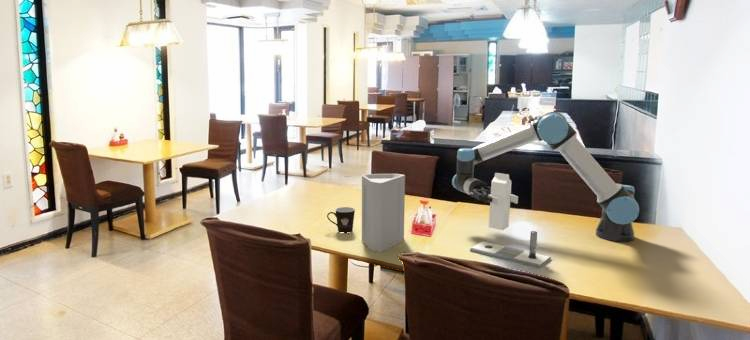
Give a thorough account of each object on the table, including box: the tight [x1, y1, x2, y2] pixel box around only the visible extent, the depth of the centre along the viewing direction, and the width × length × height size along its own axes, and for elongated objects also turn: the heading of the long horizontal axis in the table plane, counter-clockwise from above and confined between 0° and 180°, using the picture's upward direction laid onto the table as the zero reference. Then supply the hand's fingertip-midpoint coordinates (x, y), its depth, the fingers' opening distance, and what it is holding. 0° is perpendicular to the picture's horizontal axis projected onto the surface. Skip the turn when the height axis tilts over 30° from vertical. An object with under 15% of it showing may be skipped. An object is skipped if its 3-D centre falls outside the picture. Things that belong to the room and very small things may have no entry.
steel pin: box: [528, 230, 538, 258], centre depth 187 cm, size 2×2×10 cm
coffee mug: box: [326, 206, 356, 234], centre depth 222 cm, size 12×9×10 cm
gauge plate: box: [469, 240, 552, 269], centre depth 194 cm, size 28×12×1 cm, turn 51°
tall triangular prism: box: [361, 173, 406, 253], centre depth 205 cm, size 19×15×28 cm
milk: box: [488, 172, 512, 231], centre depth 197 cm, size 6×6×22 cm
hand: (507, 201), depth 193 cm, fingers closed on milk, 8 cm apart
